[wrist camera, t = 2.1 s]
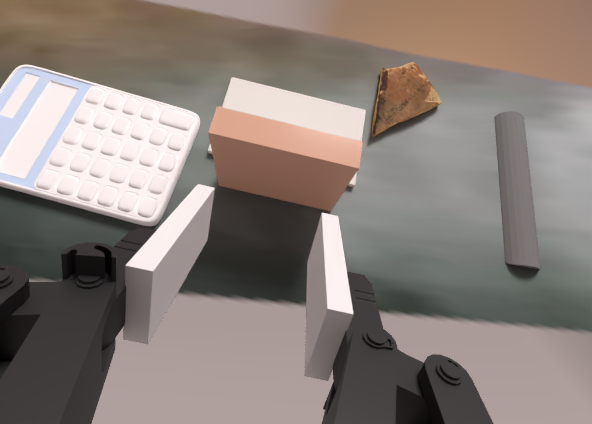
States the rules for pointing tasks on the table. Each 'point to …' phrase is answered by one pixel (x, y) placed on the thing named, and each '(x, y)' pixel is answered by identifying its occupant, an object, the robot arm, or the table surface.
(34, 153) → the calculator
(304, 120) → the white rectangular slab
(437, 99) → the shard
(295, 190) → the terracotta tile
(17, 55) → the table surface
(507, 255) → the gray half cylinder
